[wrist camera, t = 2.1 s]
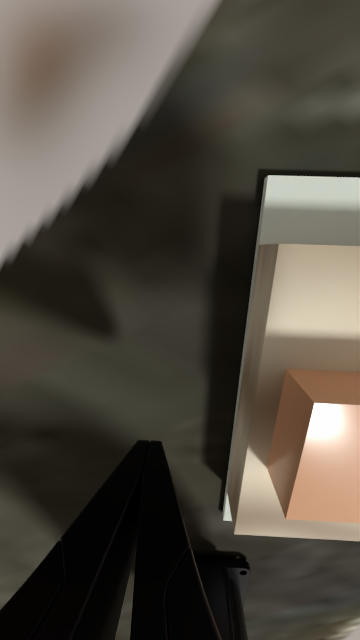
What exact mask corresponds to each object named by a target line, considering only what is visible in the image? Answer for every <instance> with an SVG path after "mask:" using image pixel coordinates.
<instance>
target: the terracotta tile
mask: <svg viewBox="0 0 360 640" xmlns="http://www.w3.org/2000/svg"><path fill="white" fill-rule="evenodd" d="M267 470H268V472H269V475H270V478H271V481H272V483H273V486H274V489H275V492H276V494H277V497H278V500H279V502H280V505H281V508H282V511H283V513H284V516H285V519H291V520H309V521H327V522H346V523H360V372H346V371H323V370H299V369H286V373H285V378H284V383H283V388H282V393H281V398H280V404H279V409H278V414H277V419H276V424H275V429H274V434H273V440H272V445H271V450H270V455H269V460H268V465H267Z"/></svg>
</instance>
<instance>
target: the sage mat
mask: <svg viewBox="0 0 360 640" xmlns="http://www.w3.org/2000/svg"><path fill="white" fill-rule="evenodd" d="M265 244H308V245H339V246H360V178H353V177H315V176H278V175H268V176H267V177H266V178H265V179H264V187H263V195H262V203H261V211H260V219H259V227H258V235H257V243H256V251H255V259H254V267H253V274H252V282H251V290H250V298H249V306H248V314H247V322H246V330H245V338H244V346H243V354H242V362H241V370H240V378H239V386H238V394H237V402H236V410H235V418H234V426H233V433H232V441H231V449H230V457H229V465H228V473H227V481H226V489H225V497H224V505H223V513H222V514H223V520H224V521H232V518H231V512H230V506H229V500H228V494H227V489H228V481H229V473H230V466H231V458H232V450H233V442H234V435H235V427H236V419H237V412H238V404H239V396H240V388H241V381H242V373H243V365H244V357H245V350H246V342H247V334H248V327H249V319H250V311H251V303H252V296H253V288H254V280H255V272H256V265H257V257H258V249H259V245H265Z"/></svg>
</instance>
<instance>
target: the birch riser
mask: <svg viewBox="0 0 360 640" xmlns="http://www.w3.org/2000/svg"><path fill="white" fill-rule="evenodd" d="M286 369H299V370H323V371H346V372H360V246H339V245H308V244H265V245H259V249H258V257H257V265H256V272H255V280H254V288H253V296H252V303H251V311H250V319H249V327H248V334H247V342H246V350H245V357H244V365H243V373H242V381H241V388H240V396H239V404H238V412H237V419H236V427H235V435H234V442H233V450H232V458H231V466H230V473H229V481H228V489H227V494H228V500H229V506H230V512H231V518H232V524H233V530H234V534H241V535H259V536H276V537H294V538H312V539H330V540H348V541H360V523H346V522H327V521H309V520H291V519H285V516H284V513H283V511H282V508H281V505H280V502H279V500H278V497H277V494H276V492H275V489H274V486H273V483H272V481H271V478H270V475H269V472H268V470H267V465H268V460H269V455H270V450H271V445H272V440H273V434H274V429H275V424H276V419H277V414H278V409H279V404H280V398H281V393H282V388H283V383H284V378H285V373H286Z"/></svg>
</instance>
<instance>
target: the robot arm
mask: <svg viewBox="0 0 360 640" xmlns="http://www.w3.org/2000/svg"><path fill="white" fill-rule="evenodd" d="M136 544H137V550H136V564H135V578H134V592H133V607H132V621H131V635H130V640H248V637H247V631H246V625H245V618H244V612H243V609H244V604H245V599H246V594H247V589H248V584H249V579H250V574H251V572H250V567H249V563H248V562H246V561H241V560H224V559H206V558H194V556H193V552H192V549H191V548H190V542H189V538H188V535H187V531H186V528H185V524H184V520H183V517H182V513H181V510H180V506H179V502H178V499H177V495H176V492H175V488H174V484H173V481H172V477H171V474H170V470H169V466H168V463H167V459H166V456H165V452H164V449H163V445H162V442H161V441H153V440H152V441H150V442H149V441H148V440H138V441H137V442H136V443H135V444H134V446H133V447H132V448H131V449H130V451H129V452H128V453H127V455H126V456H125V457H124V458H123V460H122V461H121V462H120V463H119V465H118V466H117V467H116V469H115V470H114V471H113V472H112V474H111V475H110V476H109V477H108V479H107V480H106V481H105V482H104V484H103V485H102V486H101V488H100V489H99V490H98V491H97V493H96V494H95V495H94V496H93V498H92V499H91V500H90V502H89V503H88V504H87V505H86V507H85V508H84V509H83V510H82V512H81V513H80V514H79V516H78V517H77V518H76V519H75V521H74V522H73V523H72V524H71V526H70V527H69V528H68V529H67V531H66V532H65V533H64V535H63V536H62V537H61V541H58V542H57V543H56V544H55V546H54V547H53V548H52V550H51V551H50V552H49V553H48V555H47V556H46V557H45V559H44V560H43V561H42V562H41V563H40V565H39V566H38V567H37V568H36V569H35V571H34V572H33V573H32V574H31V576H30V577H29V578H28V579H27V580H26V582H25V583H24V584H23V585H22V586H21V587H20V588H19V590H18V591H17V592H16V593H15V594H14V595H13V596H12V598H11V599H10V600H9V601H8V602H7V603H6V604H5V605H4V607H3V608H2V609H1V610H0V640H115V635H116V631H117V626H118V622H119V618H120V613H121V609H122V605H123V600H124V596H125V592H126V587H127V583H128V579H129V574H130V570H131V566H132V561H133V557H134V553H135V548H136Z"/></svg>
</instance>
